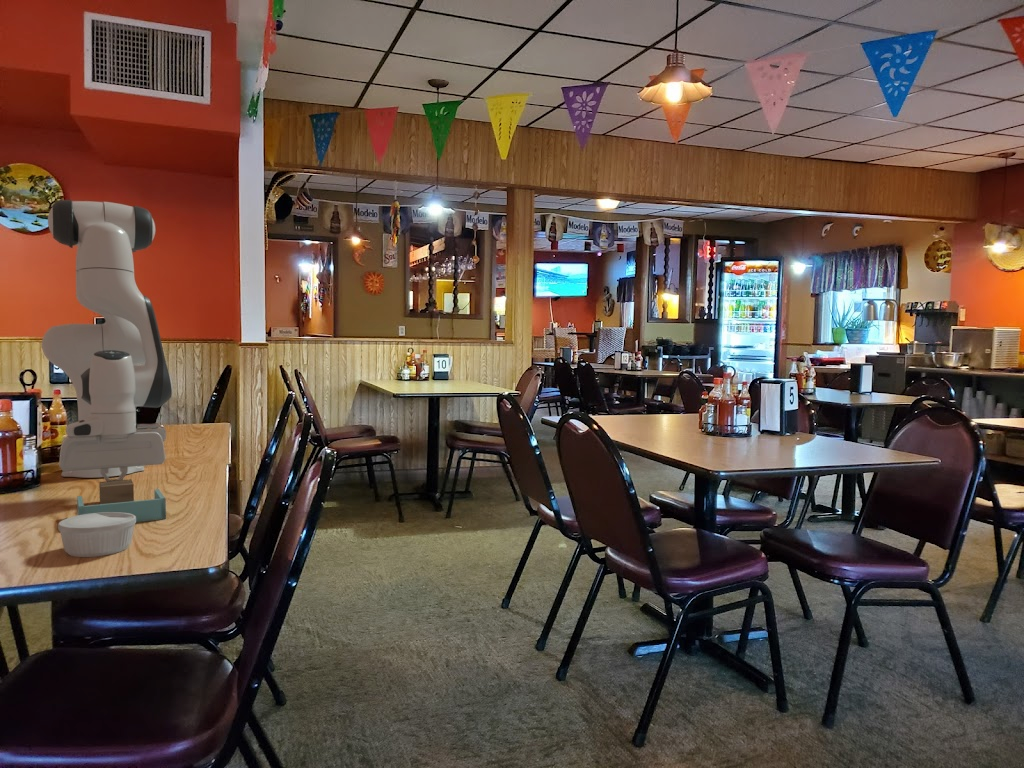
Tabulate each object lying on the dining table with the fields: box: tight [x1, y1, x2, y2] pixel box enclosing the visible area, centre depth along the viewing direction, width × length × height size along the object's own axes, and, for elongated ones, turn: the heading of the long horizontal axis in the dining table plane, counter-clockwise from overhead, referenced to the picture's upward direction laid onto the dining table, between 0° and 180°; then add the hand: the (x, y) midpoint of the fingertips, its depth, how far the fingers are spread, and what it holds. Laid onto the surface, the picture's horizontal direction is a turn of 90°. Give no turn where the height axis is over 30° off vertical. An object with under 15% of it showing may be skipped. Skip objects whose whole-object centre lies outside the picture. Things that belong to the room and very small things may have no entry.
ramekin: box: [57, 512, 137, 558], centre depth 119 cm, size 11×11×5 cm
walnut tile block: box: [98, 479, 135, 504], centre depth 150 cm, size 6×6×5 cm
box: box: [76, 488, 167, 523], centre depth 140 cm, size 11×15×4 cm
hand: (114, 487), depth 155 cm, fingers closed
